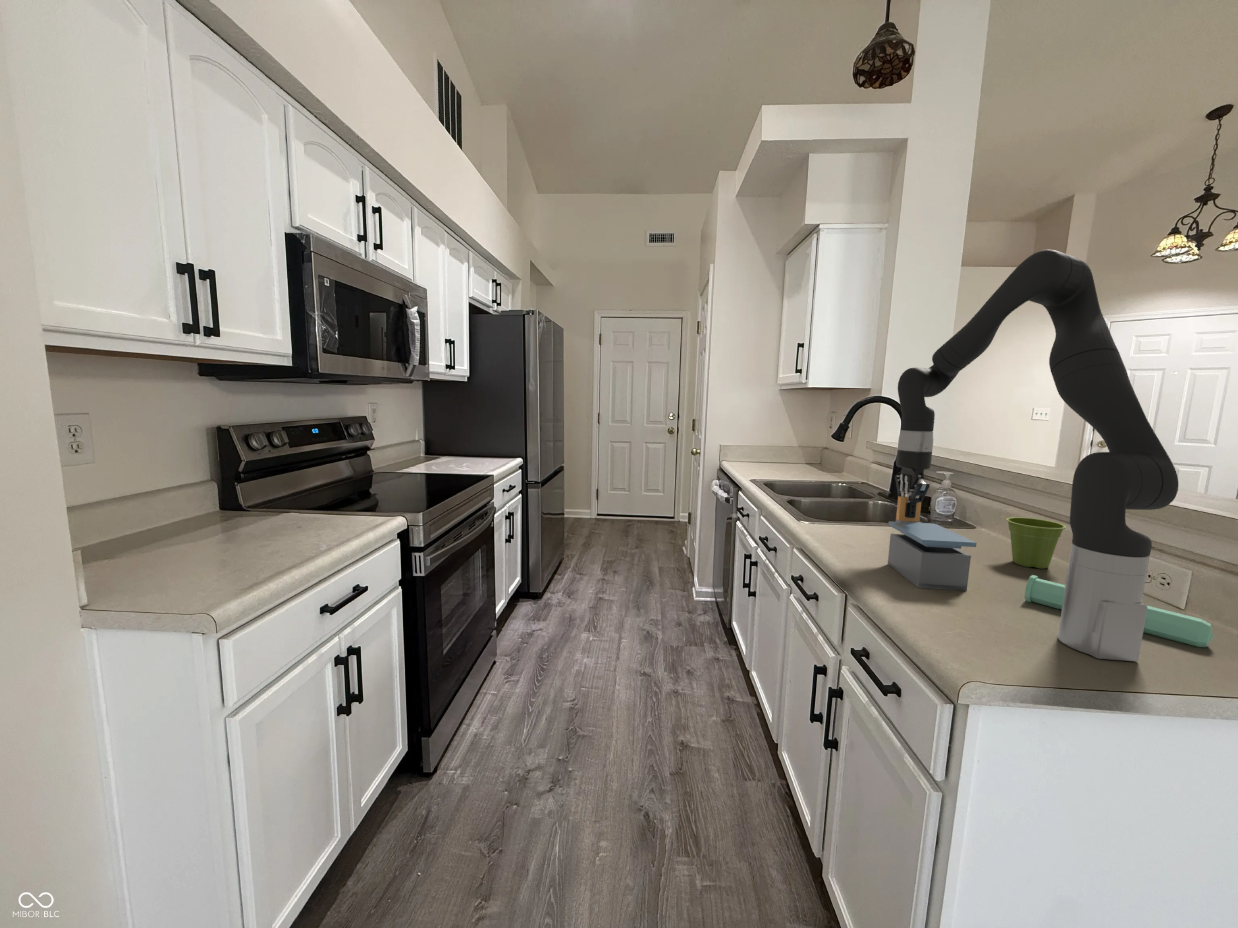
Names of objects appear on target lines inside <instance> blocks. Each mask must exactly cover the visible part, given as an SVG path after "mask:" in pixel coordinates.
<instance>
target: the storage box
mask: <svg viewBox="0 0 1238 928" xmlns="http://www.w3.org/2000/svg"><path fill="white" fill-rule="evenodd" d="M889 535H890V536H889V545H888V546H889V547H888V557H887V566H889V565H890V566H891V567H890V566H889V567H890V568H891V569H894V571H896V573H898V574H899V575H901V576H902V577H904V578H905V579H907V580H908V581H909V582H910V583H911V584H913V585H914V586H916V587H917V588H919V589H930V590H931V589H932V590H945V591H961V592H963V591H964V592H965V591H966V592H967V591H968V583H969V574H970V567H971V559H972V558H971V557H972V555H970V553H969V554H968V553H967V552H966V551H963V550H961V549H959V548H941V547H926V546H924V545H923V544H921V543H919V542H917V541H915V540H914V539H912V538H910V537H908V536H907V535H905V534H903V533H890V534H889Z"/></svg>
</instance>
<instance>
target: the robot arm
mask: <svg viewBox="0 0 1238 928" xmlns="http://www.w3.org/2000/svg"><path fill="white" fill-rule="evenodd" d="M1028 301H1029V302H1032V303H1034V304H1039V305H1041V306H1043V308H1045V310H1046V312H1047V313H1048V314H1049V317H1050V319H1051V321H1052V323H1053V328H1054V330H1055V338H1054V341H1053V343H1052V344H1053V345H1052V347H1051V350H1050V352H1049V357H1048V359H1049V360H1048V365H1049V370H1050V373H1051V377H1052V379H1053V380H1052V381H1053V382H1054V385H1055V388H1056V391H1057V393H1058V395H1059V397H1060V398H1061V400H1062V401H1063V402H1064V403H1065V404H1066V405H1067V406H1068V407H1069V408H1070V409H1071V410H1072V411H1073V412H1075V413H1076V414H1077V416H1079V417H1080V418H1082V420H1084V421H1085V422H1086V423H1087V424H1088V425H1090V426H1091V427H1092V428H1093V429H1094V430H1095V431H1096V432H1097V433H1098V434H1099V436H1100V437H1101V438H1102V440H1103V442H1104V443H1105V445H1106V448H1107V450H1108V451H1103V452H1102V451H1101V452H1100V451H1099V452H1093V453H1090V454H1088V455H1085V457H1084V458H1082V459H1081V460H1080V462H1079V463H1078V464H1077V466H1076V468H1075V471H1074V473H1073V479H1072V482H1071V483H1072V486H1071V497H1070V509H1069V510H1070V512H1069V525H1070V526H1069V527H1070V529H1071V530H1070V531H1071V532H1072V533H1071V534H1072V539H1071V540H1072V541H1071V547H1070V553H1069V558H1068V559H1069V560H1068V566H1067V573H1066V577H1065V578H1066V579H1065V584H1064V585H1065V591H1064V598H1063V605H1062V610H1061V612H1060V613H1061V614H1060V621H1059V628H1058V633H1057V639H1058V640H1059V642H1061V643H1062V644H1064V645H1065V646H1067V647H1069V648H1071V649H1074V650H1076V651H1079V652H1081V653H1084V654H1087V655H1090V656H1092V657H1094V658H1096V659H1100V660H1113V661H1125V662H1126V661H1127V662H1139V659H1140V652H1141V648H1142V647H1141V646H1142V640H1143V635H1144V632H1143V630H1144V625H1145V619H1146V613H1147V606H1148V605H1147V604H1145V603H1142V602H1143V598H1144V591H1145V585H1146V580H1147V575H1148V574H1147V573H1148V567H1149V562H1150V557H1151V556H1150V555H1151V554H1152V553H1151V552H1152V545H1153V543H1152V539H1151V538H1150V537H1149V536H1148V535H1147V534H1144V533H1141V532H1140V531H1139V532H1138V531H1135V530H1133V529H1131V528H1130V527H1129V526H1128V525H1127V523H1126V521H1127V520H1126V513H1127V512H1126V511H1127V510H1132V511H1133V510H1134V511H1135V510H1137V511H1138V510H1143V511H1144V510H1145V511H1149V510H1150V511H1152V510H1160V509H1163V508H1165V507H1167V506H1169V505H1170V504H1171V503H1172V502H1173V501H1174V500H1175V499H1176V497H1177V494H1178V491H1179V478H1178V477H1179V476H1178V473H1177V470H1176V468H1175V465H1174V463H1173V461H1172V460H1171V458H1170V456H1169V455H1168V453H1167V451H1166V449H1165V448H1164V446H1163V444H1162V442H1161V441H1160V439H1159V437H1158V436H1157V434H1156V433H1155V430H1154V429H1153V427H1152V425H1151V424H1150V422H1149V420H1148V419H1147V416H1146V413H1145V412H1144V410H1143V407H1142V405H1141V403H1140V401H1139V398H1138V397H1137V395H1136V392H1135V390H1134V388H1133V386H1132V383H1131V380H1130V377H1129V374H1128V372H1127V369H1126V365H1125V364H1124V361H1123V359H1122V357H1121V353H1120V351H1119V349H1118V346H1117V345H1116V343H1115V341H1114V338H1113V336H1112V333H1111V330H1110V328H1109V326H1108V324H1107V322H1106V320H1105V317H1104V315H1103V312H1102V309H1101V306H1100V303H1099V299H1098V294H1097V289H1096V283H1095V280H1094V275H1093V272H1092V270H1091V268H1090V266H1089V265H1088V264H1087V263H1086V262H1085V260H1082V259H1080V258H1079V257H1076V256H1073V255H1070V254H1067V253H1064V252H1061V251H1058V250H1055V249H1042V250H1039V251H1036V252H1033V253H1032V254H1031V255H1029V256H1028V257H1027V258H1025V259H1024V260H1023V261H1022V262H1021V263H1020V264H1018V266H1017V267H1016V268H1015V269H1014V270H1013V271H1011V273H1010V274H1009V275H1008V277H1006V278H1005V280H1004V281H1003V282H1002V284H1001V285H1000V286H998V288H997V289H996V290H995V292H994V293H992V294H991V295H990V297H989V298H988V300H986V302H985V303H984V304H983V305H982V307H981V308H980V309H979V310H978V311H977V312H976V313H975V314H974V316H972V318H970V320H969V321H968V322H967V323H966V324H965V325H964V326H962V327H961V329H959V331H958V332H956V333H955V334H954V335H953V336H951V337H950V338H949V339H948V340H947V341H946V342H945V343H943V344H942V345H941V346H940V347H939V348H937V350H936V351H935V352H934V353H933V354H932V357H931V361H932V363H933V364H932V365H931V366H929V367H928V368H927V367H909V368H907V369H906V370H904V371H903V372H902V373H901V375H900V377H899V379H898V383H897V394H898V399H899V406H900V411H901V421H900V432H899V436H898V440H897V441H898V442H897V451H896V452H897V453H896V461H895V465H896V467H898V468H901V470H900V474H899V475H895V477H894V478H895V479H894V480H895V486H896V490H897V497H898V496H903V497H906V502H907V503H906V510H905V517H907V518H915V514H916V504H917V503H918V502H921V503H922V502H923V500H924V499H925V496H926V495H927V492H928V490H929V488H930V483H929V482H925V470H929V469H931V467H932V458H933V448H934V428H935V427H934V426H935V419H936V418H935V416H936V415H935V414H936V413H935V410H934V409H933V408H931V407H929V406H927V404H926V400H925V399H926V398H932V397H935V396H937V395H939V394H941V393H943V392H944V391H945V390H946V389H947V388H948V387H949V386H950V385H951V383H952V382H953V381H954V379H955V378H956V376H958V375H959V373H960V371H962V370H963V369H965V368H966V367H968V365H970V364H971V363H972V362H974V361H975V360H976V359H977V358H979V357H980V356H981V355H983V354H984V352H985V351H986V350H987V349H988V348H989V346H990V345H991V344H992V342H993V340H994V339H995V336H996V334H997V332H998V330H999V328H1000V326H1001V325H1002V324H1003V322H1004V321H1005V320H1006V319H1007V317H1008V316H1010V314H1012V312H1014V311H1015V310H1017V309H1018V308H1020V307H1021V306H1022V305H1024V304H1025V303H1027V302H1028Z"/></svg>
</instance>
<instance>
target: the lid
mask: <svg viewBox="0 0 1238 928" xmlns="http://www.w3.org/2000/svg"><path fill="white" fill-rule="evenodd" d="M906 503H907V502H906V497H903V496H898V495H897V506H896V507H897V508H896V515H895V516H896V517H895V521H889V520H888V526H889V527H891V528H892V529H894V530H896V531H898V532H900V534H905V535H907V536H908V537H910V538H912V539H914V540H915V541H917V542H919V543H921V544H923V545H924V546H926V547H941V548H957V549H959V550H961V549H962V547H965V548H966V547H967V548H968V547H969V548H976V547H977V544H978V543H977V542H976V541H973V540H971V539H969V538H967V537H965V536H963V535H961V534H958V533H956V532H954V531H953V530H949V529H948V528H946V527H943V526H941V525H939V524H936V523H930V522H928V523H927V522H922V521H921V520H920V518H921V510H922V509H921V508H922V502H918V503H917V504H916V514H915V518H907V517H905V510H906Z"/></svg>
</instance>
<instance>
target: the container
mask: <svg viewBox="0 0 1238 928" xmlns="http://www.w3.org/2000/svg"><path fill="white" fill-rule="evenodd" d="M1065 585H1066V584H1063V583H1057V582H1054V581H1049V580H1045V579H1042V578H1039V576H1038V575H1034V574H1031V575H1030V576H1029V578H1028V580H1027V583H1026V585H1025V591H1024V600H1025V602H1027V603H1032V602H1033V603H1037V604H1041V605H1044V606H1046V607H1047V606H1048V607H1051V608H1055V609H1057V610H1060V611H1062V605H1063V598H1064V591H1065ZM1143 633H1144V634H1149V635H1153V636H1157V637H1160V638H1164V639H1167V640H1171V641H1176V642H1178V643H1181V644H1187V645H1190V646H1193V647H1198V648H1206V647H1207V646H1208V645H1209V643H1210V642H1211V641H1212V639H1213V638H1214V633H1213V627H1212V624H1211V623H1209V622H1207V621H1206V620H1204V619H1202V618H1198V617H1195V616H1191V615H1186V614H1182V613H1178V612H1174V611H1170V610H1167V609H1162V608H1159V607H1154V606H1151V605H1147V613H1146V619H1145V625H1144V630H1143Z"/></svg>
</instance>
